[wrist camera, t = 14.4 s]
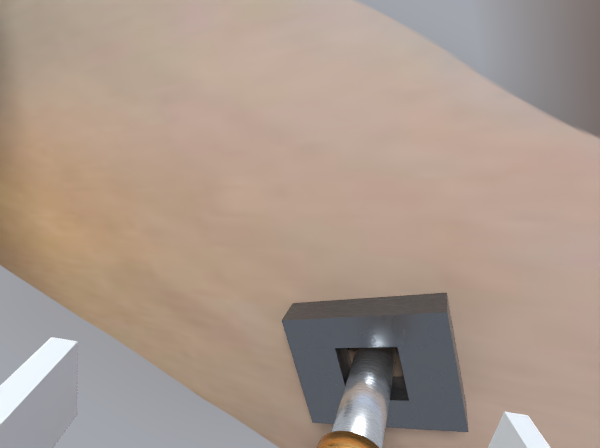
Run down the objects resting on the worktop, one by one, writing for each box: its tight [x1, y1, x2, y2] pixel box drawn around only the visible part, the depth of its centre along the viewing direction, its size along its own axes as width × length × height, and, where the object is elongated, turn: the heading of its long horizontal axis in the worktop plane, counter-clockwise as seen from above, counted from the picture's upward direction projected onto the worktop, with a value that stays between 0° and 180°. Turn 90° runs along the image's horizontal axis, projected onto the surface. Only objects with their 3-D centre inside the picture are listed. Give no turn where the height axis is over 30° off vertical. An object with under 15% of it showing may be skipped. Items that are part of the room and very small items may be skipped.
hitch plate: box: [282, 293, 468, 432], centre depth 34 cm, size 11×14×3 cm
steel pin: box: [317, 347, 396, 448], centre depth 30 cm, size 5×5×13 cm
